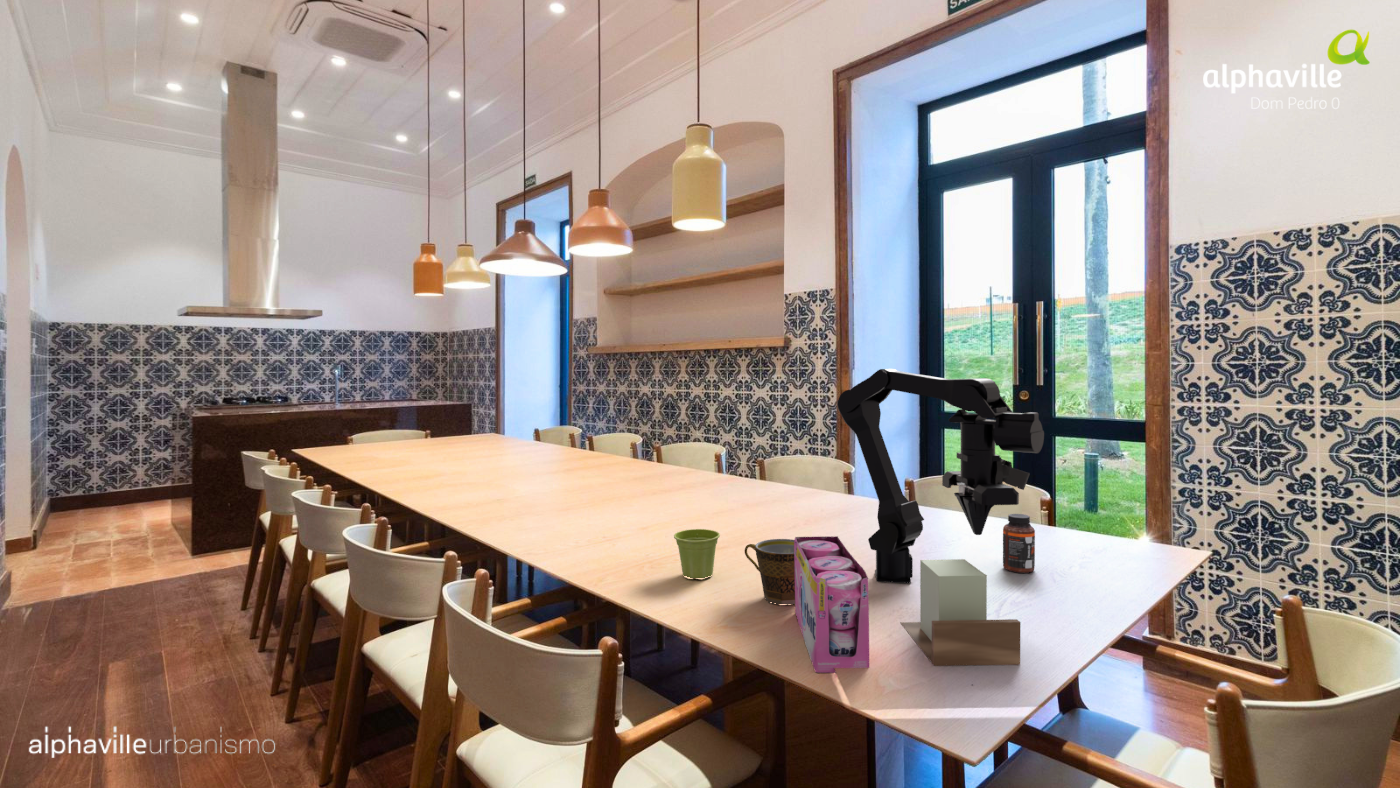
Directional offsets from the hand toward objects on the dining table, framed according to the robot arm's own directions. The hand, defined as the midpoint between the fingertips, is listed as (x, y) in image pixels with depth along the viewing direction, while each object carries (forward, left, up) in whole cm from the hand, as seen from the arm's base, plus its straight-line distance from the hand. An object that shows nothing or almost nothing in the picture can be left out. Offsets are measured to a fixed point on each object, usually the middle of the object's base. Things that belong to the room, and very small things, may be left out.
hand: (977, 534), depth 117 cm
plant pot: (-53, +5, -12) cm, 55 cm away
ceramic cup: (-36, -5, -12) cm, 38 cm away
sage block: (-8, -20, -11) cm, 24 cm away
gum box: (-26, -22, -12) cm, 36 cm away
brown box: (-7, -21, -12) cm, 26 cm away
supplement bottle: (+12, +20, -12) cm, 26 cm away
